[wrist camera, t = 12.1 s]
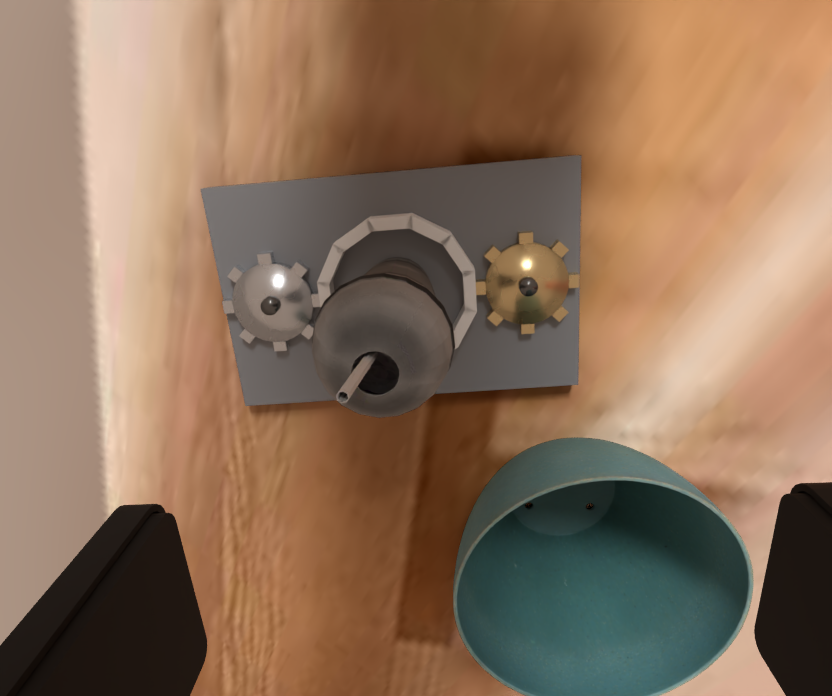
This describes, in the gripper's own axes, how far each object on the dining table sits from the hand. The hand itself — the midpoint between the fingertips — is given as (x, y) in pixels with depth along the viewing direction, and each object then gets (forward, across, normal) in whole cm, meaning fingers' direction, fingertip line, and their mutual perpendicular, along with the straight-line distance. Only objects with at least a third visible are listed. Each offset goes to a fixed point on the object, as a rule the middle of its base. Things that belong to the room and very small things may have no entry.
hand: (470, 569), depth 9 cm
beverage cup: (+31, +3, +4) cm, 32 cm away
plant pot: (+32, -8, +22) cm, 40 cm away
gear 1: (+31, +12, +4) cm, 34 cm away
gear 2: (+31, -5, +4) cm, 32 cm away
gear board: (+32, +3, +4) cm, 33 cm away
